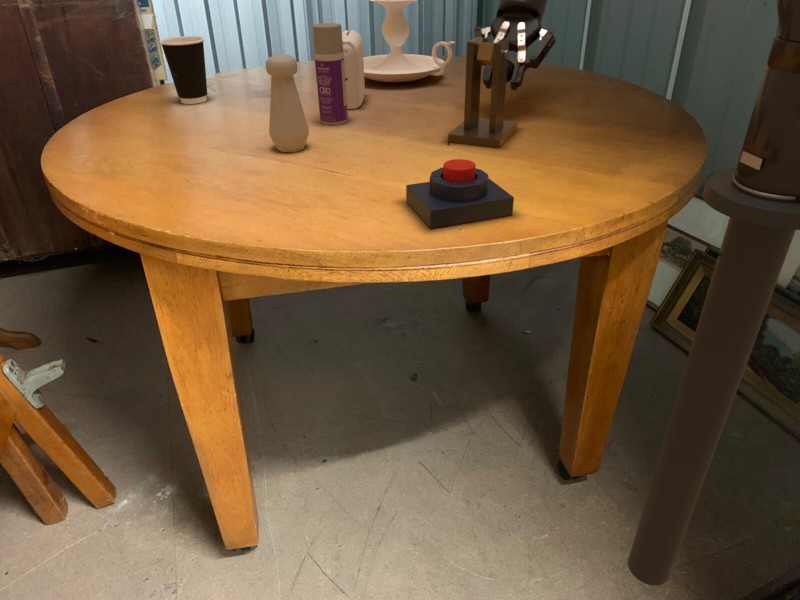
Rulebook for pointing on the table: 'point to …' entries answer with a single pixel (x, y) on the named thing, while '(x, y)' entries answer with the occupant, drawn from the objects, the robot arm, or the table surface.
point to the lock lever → (487, 55)
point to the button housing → (458, 200)
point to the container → (330, 73)
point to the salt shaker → (285, 106)
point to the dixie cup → (187, 67)
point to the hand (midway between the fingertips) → (500, 86)
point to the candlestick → (396, 62)
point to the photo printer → (353, 68)
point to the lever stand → (474, 127)
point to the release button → (459, 171)
